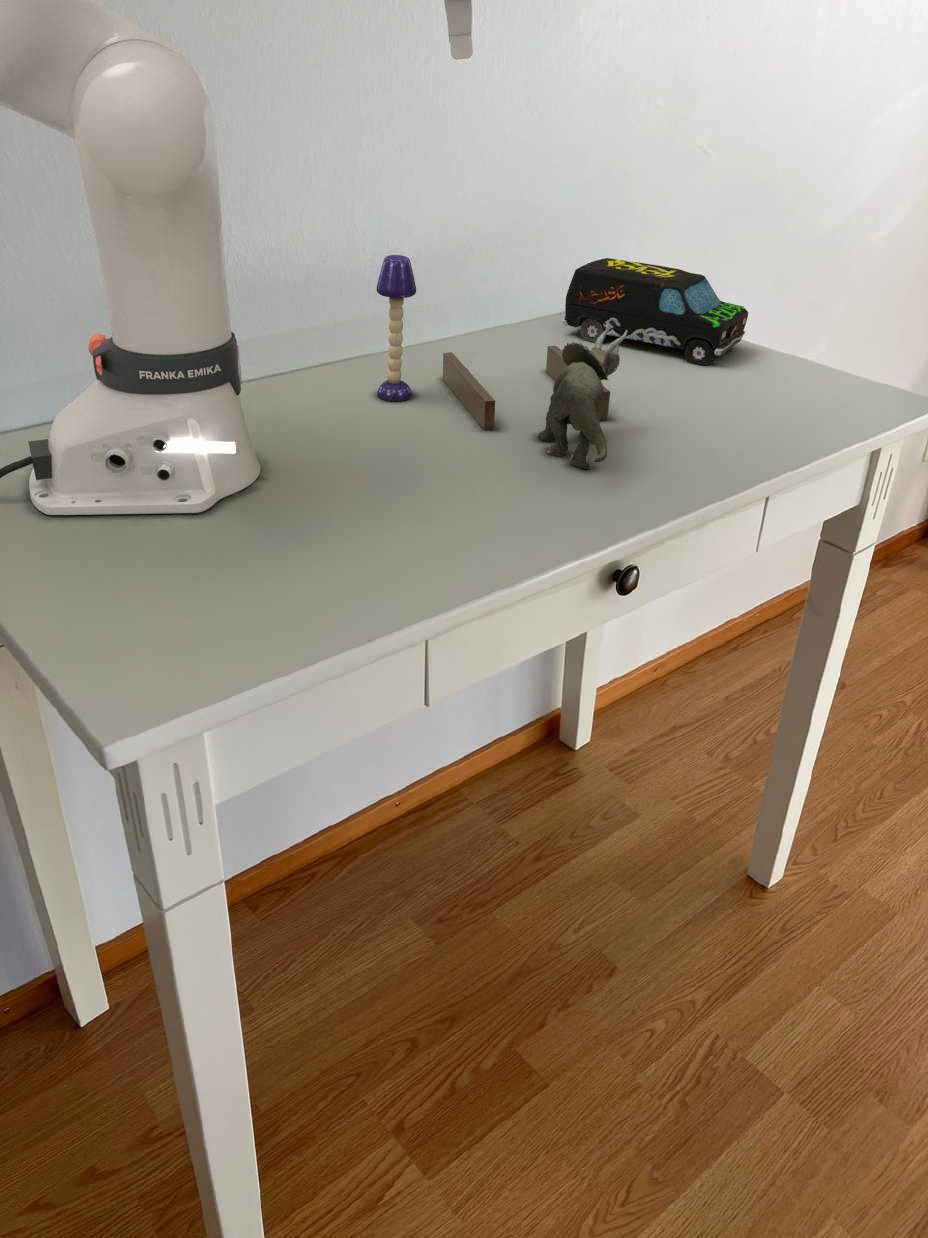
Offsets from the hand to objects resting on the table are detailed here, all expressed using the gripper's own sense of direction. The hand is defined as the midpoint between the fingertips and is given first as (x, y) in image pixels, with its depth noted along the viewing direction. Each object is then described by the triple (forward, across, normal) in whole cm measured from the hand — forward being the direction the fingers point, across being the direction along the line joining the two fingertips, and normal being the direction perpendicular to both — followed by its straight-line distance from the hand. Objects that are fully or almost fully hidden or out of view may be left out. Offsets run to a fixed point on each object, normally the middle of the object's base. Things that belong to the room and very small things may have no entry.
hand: (460, 51), depth 90 cm
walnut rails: (+40, -17, +5) cm, 44 cm away
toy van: (+44, -41, +25) cm, 65 cm away
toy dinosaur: (+40, 0, +9) cm, 41 cm away
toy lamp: (+39, -17, -11) cm, 44 cm away
